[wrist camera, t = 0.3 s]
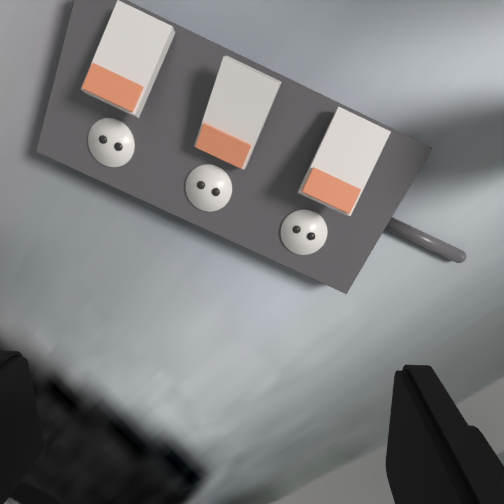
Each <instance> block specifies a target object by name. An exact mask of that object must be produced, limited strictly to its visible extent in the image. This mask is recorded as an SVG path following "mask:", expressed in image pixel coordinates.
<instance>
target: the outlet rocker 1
mask: <svg viewBox="0 0 504 504" xmlns="http://www.w3.org/2000/svg"><path fill="white" fill-rule="evenodd" d="M281 83H282V82H281V81H279V80H277V79H275V78H273V77H270V76H268V75H266V74H264V73H262V72H260V71H258V70H256V69H254V68H252V67H250V66H248V65H246V64H244V63H241V62H239V61H237V60H235V59H233V58H231V57H229V56H224V57H223V60H222V63H221V66H220V69H219V72H218V75H217V78H216V81H215V84H214V87H213V90H212V93H211V96H210V99H209V102H208V105H207V108H206V111H205V115H204V118H203V121H202V124H201V127H200V130H199V133H198V136H197V139H196V142H195V145H194V147H196V148H198V149H200V150H202V151H204V152H207V153H209V154H211V155H213V156H215V157H217V158H219V159H222V160H224V161H226V162H228V163H230V164H232V165H234V166H236V167H239V168H241V169H243V170H244V169H245V168H246V166H247V164H248V161H249V159H250V157H251V154H252V152H253V149H254V147H255V145H256V142H257V140H258V138H259V135H260V133H261V130H262V128H263V126H264V123H265V121H266V118H267V116H268V114H269V111H270V109H271V106H272V104H273V102H274V99H275V97H276V95H277V92H278V90H279V87H280V85H281Z"/></svg>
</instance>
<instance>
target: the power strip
mask: <svg viewBox="0 0 504 504" xmlns="http://www.w3.org/2000/svg"><path fill="white" fill-rule="evenodd" d="M119 1H121V2H123V3H125V4H127V5H129V6H131V7H133V8H136V9H138V10H140V11H142V12H144V13H146V14H148V15H150V16H152V17H154V18H156V19H158V20H160V21H162V22H165V23H167V24H169V25H171V26H173V28H174V31H175V35H174V37H173V40H172V42H171V44H170V47H169V49H168V51H167V54H166V56H165V58H164V61H163V63H162V65H161V68H160V70H159V72H158V75H157V77H156V79H155V82H154V84H153V86H152V89H151V91H150V93H149V96H148V98H147V100H146V103H145V105H144V107H143V110H142V112H141V114H140V117H139V118H137V117H135V116H133V115H130V114H128V113H126V112H124V111H122V110H120V109H118V108H116V107H113V106H111V105H109V104H107V103H105V102H103V101H101V100H99V99H96V98H94V97H92V96H90V95H88V94H86V93H85V92H83V91H82V90H81V87H82V85H83V82H84V80H85V77H86V75H87V73H88V70H89V68H90V65H91V63H92V61H93V58H94V56H95V53H96V51H97V49H98V46H99V44H100V41H101V39H102V36H103V34H104V32H105V29H106V27H107V24H108V22H109V20H110V17H111V15H112V12H113V10H114V7H115V5H116V3H117V0H74V4H73V8H72V12H71V16H70V19H69V23H68V27H67V31H66V35H65V39H64V43H63V47H62V51H61V55H60V59H59V63H58V67H57V71H56V75H55V79H54V83H53V87H52V91H51V95H50V98H49V102H48V106H47V110H46V114H45V118H44V122H43V126H42V130H41V134H40V138H39V142H38V146H37V150H36V152H38V153H40V154H43V155H45V156H47V157H49V158H51V159H54V160H56V161H58V162H60V163H62V164H64V165H67V166H69V167H71V168H73V169H75V170H77V171H80V172H82V173H84V174H86V175H88V176H91V177H93V178H95V179H97V180H99V181H101V182H104V183H106V184H108V185H110V186H112V187H115V188H117V189H119V190H121V191H123V192H125V193H128V194H130V195H132V196H134V197H136V198H138V199H141V200H143V201H145V202H147V203H149V204H152V205H154V206H156V207H158V208H160V209H162V210H165V211H167V212H169V213H171V214H173V215H175V216H178V217H180V218H182V219H184V220H186V221H189V222H191V223H193V224H195V225H197V226H199V227H202V228H204V229H206V230H208V231H210V232H212V233H215V234H217V235H219V236H221V237H223V238H226V239H228V240H230V241H232V242H234V243H236V244H239V245H241V246H243V247H245V248H247V249H249V250H252V251H254V252H256V253H258V254H260V255H263V256H265V257H267V258H269V259H271V260H273V261H276V262H278V263H280V264H282V265H284V266H286V267H289V268H291V269H293V270H295V271H297V272H300V273H302V274H304V275H306V276H308V277H310V278H313V279H315V280H317V281H319V282H321V283H323V284H326V285H328V286H330V287H332V288H334V289H337V290H339V291H341V292H343V293H345V294H347V292H348V291H349V289H350V287H351V285H352V284H353V282H354V280H355V279H356V277H357V275H358V273H359V272H360V270H361V268H362V267H363V265H364V263H365V262H366V260H367V258H368V256H369V255H370V253H371V251H372V250H373V248H374V246H375V245H376V243H377V241H378V239H379V238H380V236H381V234H382V233H383V231H384V229H386V230H388V231H390V232H392V233H394V234H396V235H399V236H401V237H403V238H405V239H407V240H409V241H411V242H413V243H416V244H418V245H420V246H422V247H424V248H426V249H428V250H430V251H433V252H435V253H437V254H439V255H441V256H443V257H445V258H447V259H450V260H452V261H454V262H456V263H461V262H463V261H464V260H465V259H466V254H465V252H464V251H462V250H460V249H458V248H456V247H454V246H451V245H449V244H447V243H445V242H443V241H441V240H439V239H437V238H435V237H432V236H430V235H428V234H426V233H424V232H422V231H420V230H418V229H415V228H413V227H411V226H409V225H407V224H405V223H403V222H401V221H398V220H396V219H394V218H392V216H393V214H394V212H395V210H396V209H397V207H398V205H399V204H400V202H401V200H402V199H403V197H404V195H405V193H406V192H407V190H408V188H409V187H410V185H411V183H412V182H413V180H414V178H415V176H416V175H417V173H418V171H419V170H420V168H421V166H422V164H423V163H424V161H425V159H426V158H427V156H428V154H429V153H430V151H431V149H432V148H431V147H429V146H427V145H425V144H423V143H421V142H419V141H417V140H415V139H413V138H411V137H409V136H407V135H405V134H402V133H400V132H398V131H396V130H394V129H392V128H390V127H388V126H386V125H384V124H382V123H380V122H378V121H375V120H373V119H371V118H369V117H367V116H365V115H363V114H361V113H359V112H357V111H355V110H353V109H351V108H349V107H346V106H344V105H342V104H340V103H338V102H336V101H334V100H332V99H330V98H328V97H326V96H324V95H322V94H320V93H317V92H315V91H313V90H311V89H309V88H307V87H305V86H303V85H301V84H299V83H297V82H295V81H293V80H291V79H288V78H286V77H284V76H282V75H280V74H278V73H276V72H274V71H272V70H270V69H268V68H266V67H264V66H262V65H259V64H257V63H255V62H253V61H251V60H249V59H247V58H245V57H243V56H241V55H239V54H237V53H235V52H233V51H230V50H228V49H226V48H224V47H222V46H220V45H218V44H216V43H214V42H212V41H210V40H208V39H206V38H204V37H201V36H199V35H197V34H195V33H193V32H191V31H189V30H187V29H185V28H183V27H181V26H179V25H177V24H175V23H172V22H170V21H168V20H166V19H164V18H162V17H160V16H158V15H156V14H154V13H152V12H150V11H148V10H146V9H143V8H141V7H139V6H137V5H135V4H133V3H131V2H129V1H127V0H119ZM224 56H229V57H231V58H233V59H235V60H237V61H239V62H241V63H244V64H246V65H248V66H250V67H252V68H254V69H256V70H258V71H260V72H262V73H264V74H266V75H268V76H270V77H273V78H275V79H277V80H279V81H281V82H282V83H281V85H280V87H279V90H278V92H277V95H276V97H275V99H274V102H273V104H272V106H271V109H270V111H269V114H268V116H267V118H266V121H265V123H264V126H263V128H262V130H261V133H260V135H259V138H258V140H257V142H256V145H255V147H254V149H253V152H252V154H251V157H250V159H249V161H248V164H247V166H246V168H245V169H244V170H243V169H241V168H239V167H236V166H234V165H232V164H230V163H228V162H226V161H224V160H222V159H219V158H217V157H215V156H213V155H211V154H209V153H207V152H204V151H202V150H200V149H198V148H196V147H194V145H195V142H196V139H197V136H198V133H199V130H200V127H201V124H202V121H203V118H204V115H205V111H206V108H207V105H208V102H209V99H210V96H211V93H212V90H213V87H214V84H215V81H216V78H217V75H218V72H219V69H220V66H221V63H222V60H223V57H224ZM338 107H341V108H343V109H345V110H347V111H349V112H351V113H353V114H355V115H357V116H359V117H362V118H364V119H366V120H368V121H370V122H372V123H374V124H376V125H378V126H380V127H382V128H384V129H386V130H389V131H391V133H390V135H389V137H388V139H387V141H386V143H385V145H384V147H383V149H382V152H381V154H380V156H379V158H378V160H377V162H376V164H375V166H374V168H373V170H372V172H371V174H370V177H369V179H368V181H367V183H366V185H365V187H364V189H363V191H362V193H361V195H360V197H359V199H358V202H357V204H356V206H355V208H354V210H353V212H352V214H351V216H346V215H344V214H342V213H339V212H337V211H335V210H333V209H331V208H329V207H327V206H324V205H322V204H320V203H318V202H316V201H314V200H312V199H310V198H307V197H305V196H303V195H301V194H299V193H297V192H298V190H299V188H300V186H301V184H302V182H303V179H304V177H305V175H306V173H307V171H308V169H309V167H310V164H311V162H312V160H313V158H314V156H315V154H316V152H317V149H318V147H319V145H320V143H321V141H322V139H323V137H324V134H325V132H326V130H327V128H328V126H329V124H330V122H331V119H332V117H333V115H334V113H335V111H336V109H337V108H338Z"/></svg>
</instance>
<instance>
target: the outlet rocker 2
mask: <svg viewBox="0 0 504 504" xmlns="http://www.w3.org/2000/svg"><path fill="white" fill-rule="evenodd" d="M390 133H391V131H389V130H386V129H384V128H382V127H380V126H378V125H376V124H374V123H372V122H370V121H368V120H366V119H364V118H362V117H359V116H357V115H355V114H353V113H351V112H349V111H347V110H345V109H343V108H341V107H338V108H337V109H336V111H335V113H334V115H333V117H332V119H331V122H330V124H329V126H328V128H327V130H326V132H325V134H324V137H323V139H322V141H321V143H320V145H319V147H318V149H317V152H316V154H315V156H314V158H313V160H312V162H311V164H310V167H309V169H308V171H307V173H306V175H305V177H304V179H303V182H302V184H301V186H300V188H299V190H298V192H297V193H299V194H301V195H303V196H305V197H307V198H310V199H312V200H314V201H316V202H318V203H320V204H322V205H324V206H327V207H329V208H331V209H333V210H335V211H337V212H339V213H342V214H344V215H346V216H351V214H352V212H353V210H354V208H355V206H356V204H357V202H358V199H359V197H360V195H361V193H362V191H363V189H364V187H365V185H366V183H367V181H368V179H369V177H370V174H371V172H372V170H373V168H374V166H375V164H376V162H377V160H378V158H379V156H380V154H381V152H382V149H383V147H384V145H385V143H386V141H387V139H388V137H389V135H390Z"/></svg>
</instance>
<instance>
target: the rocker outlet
mask: <svg viewBox="0 0 504 504" xmlns="http://www.w3.org/2000/svg"><path fill="white" fill-rule="evenodd" d="M174 35H175V31H174V28H173V26H171V25H169V24H167V23H165V22H162V21H160V20H158V19H156V18H154V17H152V16H150V15H148V14H146V13H144V12H142V11H140V10H138V9H136V8H133V7H131V6H129V5H127V4H125V3H123V2H121V1H119V0H117V3H116V5H115V7H114V10H113V12H112V15H111V17H110V20H109V22H108V24H107V27H106V29H105V32H104V34H103V36H102V39H101V41H100V44H99V46H98V49H97V51H96V53H95V56H94V58H93V61H92V63H91V65H90V68H89V70H88V73H87V75H86V77H85V80H84V82H83V85H82V87H81V90H82V91H83V92H85V93H86V94H88V95H90V96H92V97H94V98H96V99H99V100H101V101H103V102H105V103H107V104H109V105H111V106H113V107H116V108H118V109H120V110H122V111H124V112H126V113H128V114H130V115H133V116H135V117H137V118H139V117H140V114H141V112H142V110H143V107H144V105H145V103H146V100H147V98H148V96H149V93H150V91H151V89H152V86H153V84H154V82H155V79H156V77H157V75H158V72H159V70H160V68H161V65H162V63H163V61H164V58H165V56H166V54H167V51H168V49H169V47H170V44H171V42H172V40H173V37H174Z"/></svg>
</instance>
